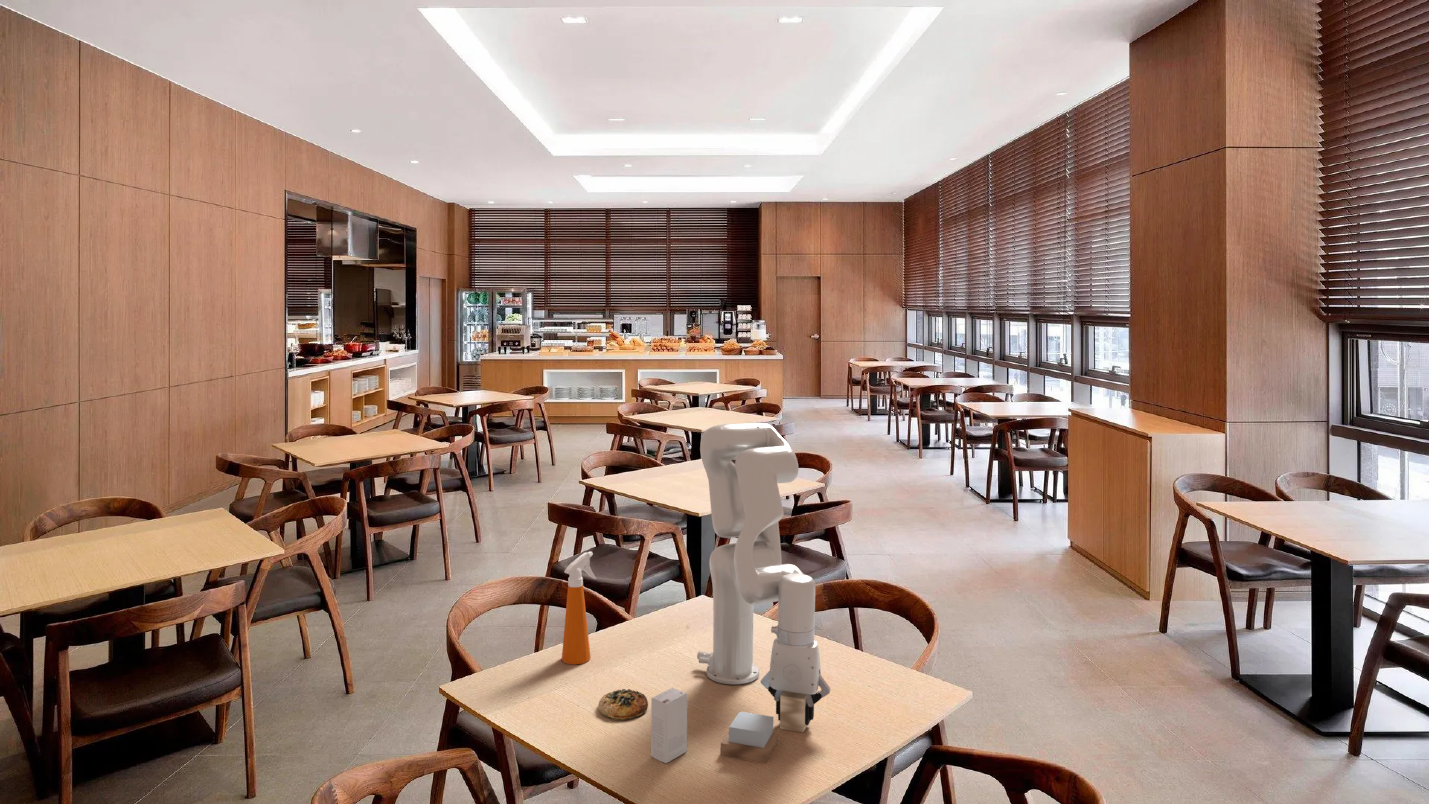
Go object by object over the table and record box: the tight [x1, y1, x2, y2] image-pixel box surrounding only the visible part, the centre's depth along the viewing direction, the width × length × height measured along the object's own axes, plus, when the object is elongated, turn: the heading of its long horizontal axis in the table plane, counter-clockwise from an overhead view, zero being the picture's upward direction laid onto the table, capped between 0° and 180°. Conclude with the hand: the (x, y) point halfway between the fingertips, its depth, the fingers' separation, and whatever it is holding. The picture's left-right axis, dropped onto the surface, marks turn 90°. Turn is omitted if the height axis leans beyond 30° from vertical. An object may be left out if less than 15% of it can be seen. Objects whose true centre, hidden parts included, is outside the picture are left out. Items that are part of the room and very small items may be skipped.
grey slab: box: [728, 711, 774, 748], centre depth 160 cm, size 7×7×3 cm
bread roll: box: [597, 688, 649, 721], centre depth 176 cm, size 11×11×5 cm
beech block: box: [779, 691, 808, 733], centre depth 169 cm, size 5×5×7 cm
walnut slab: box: [720, 728, 779, 765], centre depth 160 cm, size 9×9×3 cm
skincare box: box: [650, 687, 688, 764], centre depth 157 cm, size 6×4×12 cm
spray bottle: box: [561, 551, 598, 666], centre depth 204 cm, size 7×11×26 cm, turn 144°
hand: (794, 719), depth 170 cm, fingers closed on beech block, 5 cm apart
